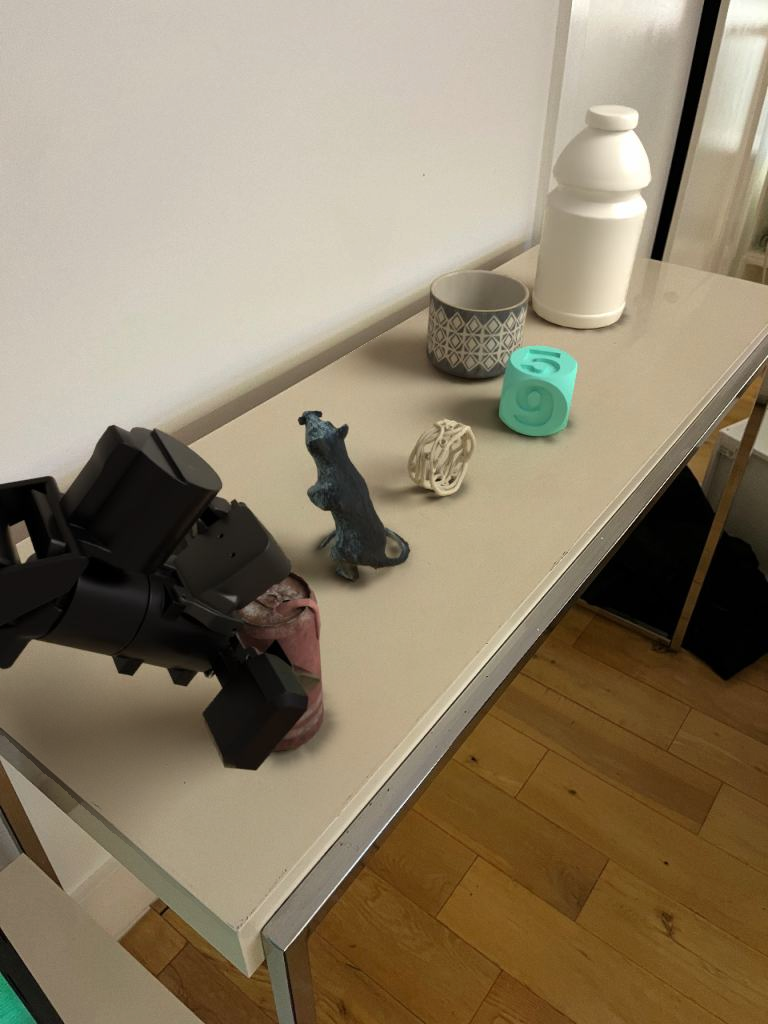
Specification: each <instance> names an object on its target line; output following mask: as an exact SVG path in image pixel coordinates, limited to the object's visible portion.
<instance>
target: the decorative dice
mask: <svg viewBox="0 0 768 1024" xmlns="http://www.w3.org/2000/svg"><path fill="white" fill-rule="evenodd" d="M578 365H579V364H578V362H577V361H576V359H575V358H574V357H573V356H572V355H571V354H569V353H568V352H566V351H564V350H562V349H559V348H556V347H552V346H548V345H547V346H546V345H528V346H527V345H526V346H523V347H521V348H520V349H518V350H516V351H514V352H513V353H511V354H510V355H509V358H508V362H507V366H506V371H505V374H504V377H503V381H502V388H501V393H500V400H499V401H500V402H499V407H498V417H499V419H500V420H501V421H502V422H503V424H505V426H507V427H508V428H509V429H511V430H512V431H513V432H516V433H518V434H522V435H525V436H531V437H547V436H548V437H549V436H552V435H554V434H557V433H559V432H561V431H562V430H565V429H566V428H567V424H568V419H569V415H570V412H571V411H570V409H571V404H572V400H573V396H574V395H573V394H574V389H575V383H576V378H577V371H578Z"/></svg>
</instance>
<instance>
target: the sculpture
mask: <svg viewBox="0 0 768 1024" xmlns="http://www.w3.org/2000/svg"><path fill="white" fill-rule="evenodd" d="M322 417H323V412H322V410H305V411H303V412H302V413H301V416H299V417H298V418H297V422H298V425H299V426H305V427H304V430H305V431H304V432H305V433H304V442H305V443H304V444H305V447H306V450H307V451H308V453H309V455H310V456H311V457H312V459H313V461H314V464H315V466H316V472H317V473H316V474H317V475H316V476H317V477H316V478H317V480H316V481H315V482H314V484H313V485H311V486H310V487H309V488H308V489H307V491H306V495H307V498H308V499H309V501H310V502H311V503H312V505H314V506H315V507H316V508H318V509H320V510H321V511H324V512H330V514H331V516H332V519H333V521H334V527H335V529H334V530H333V531H332V532H330V533H329V534H328V535H327V537H326V538H325V539H324V540H323V541H322V543H321V545H320V546H319V549H320V550H323V549H324V548H325V547H326V546H327V545H328V544H330V542H331V541H332V540H333V539H334V540H333V541H332V544H331V545H330V548H329V549H330V551H329V553H330V555H329V556H330V558H331V559H332V562H333V563H334V564H335V565H336V566H337V568H336V569H335V571H336V572H337V573H338V575H340V576H341V577H344V578H345V579H348V580H351V581H354V582H357V580H358V579H359V578H360V574H359V569H358V567H359V566H362V567H370V568H372V569H374V570H378V569H383V568H393V567H395V566H400V565H403V564H406V563H407V560H408V558H409V555H410V553H411V549H410V546H409V545H410V544H409V543H408V541H406V539H404V538H403V537H401V536H400V535H399V534H398V533H396V532H395V531H392V530H391V529H390V528H388V527H386V526H385V524H384V523H383V521H382V520H381V518H380V516H379V515H378V513H377V511H376V509H375V506H374V503H373V501H372V498H371V495H370V490H369V486H368V484H367V482H366V480H365V477H363V475H362V474H361V473H360V471H359V470H358V469H357V467H356V466H355V464H354V463H353V462H352V460H351V458H350V457H349V454H348V450H347V446H346V442H345V439H346V438H347V436H348V434H349V425H348V424H347V423H344V424H342V425H341V426H340V427H336V426H335V425H334V424H333V423H332V422H331V421H330V420H322V419H321V418H322ZM387 538H390V539H391V540H393V541H394V542H396V544H397V545H398V547H399V548H400V551H401V552H400V555H398V557H392V558H391V557H389V556H387V554H386V549H387V543H388V542H387V541H388V540H387Z"/></svg>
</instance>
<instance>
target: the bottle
mask: <svg viewBox="0 0 768 1024" xmlns="http://www.w3.org/2000/svg"><path fill="white" fill-rule="evenodd" d="M639 116H640V115H639V112H638V110H636V109H635V108H633V107H629V106H626V105H620V104H596V105H593V106H592V105H591V106H590V107H589V108H588V109H587V111H586V114H585V117H584V122H585V124H586V125H587V126H586V127H585V128H584V129H582V130H581V131H580V132H578V133H577V134H576V135H575V136H574V137H573V138H572V139H571V140H570V141H569V142H568V143H567V144H566V146H565V147H564V148H563V150H562V151H560V153H559V155H558V158H556V161H555V163H554V165H553V167H552V176H553V178H554V179H555V181H556V183H557V185H556V187H555V188H554V189H551V191H550V192H549V193H548V194H547V195H546V197H545V202H544V204H545V205H544V212H543V213H544V214H543V220H542V221H543V222H542V227H541V229H542V230H541V235H540V241H539V248H538V255H537V256H538V257H537V261H536V262H537V263H536V269H535V276H534V277H535V278H534V284H533V288H532V291H531V293H532V294H531V304H532V310H534V312H535V313H536V315H537V316H539V317H540V318H542V319H544V320H545V321H547V322H549V323H552V324H555V325H559V326H561V327H567V328H573V329H598V328H604V327H608V326H610V325H612V324H614V323H616V322H618V321H619V320H620V318H621V316H622V314H623V313H624V310H625V307H626V305H627V304H626V303H627V302H626V299H627V294H628V290H629V286H630V282H631V277H632V273H633V269H634V265H635V261H636V257H637V252H638V248H639V244H640V239H641V235H642V230H643V227H644V223H645V219H646V215H647V214H648V213H647V212H648V205H647V203H646V200H645V199H644V198H643V196H642V194H641V193H642V191H643V190H644V189H645V188H647V187H648V186H649V184H650V183H651V182H652V173H651V171H652V170H651V165H650V159H649V157H648V154H647V151H646V150H645V147H644V144H643V143H642V141H641V140H640V138H639V136H638V135H637V134H636V132H635V131H634V129H636V128H637V127H638V124H639Z"/></svg>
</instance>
